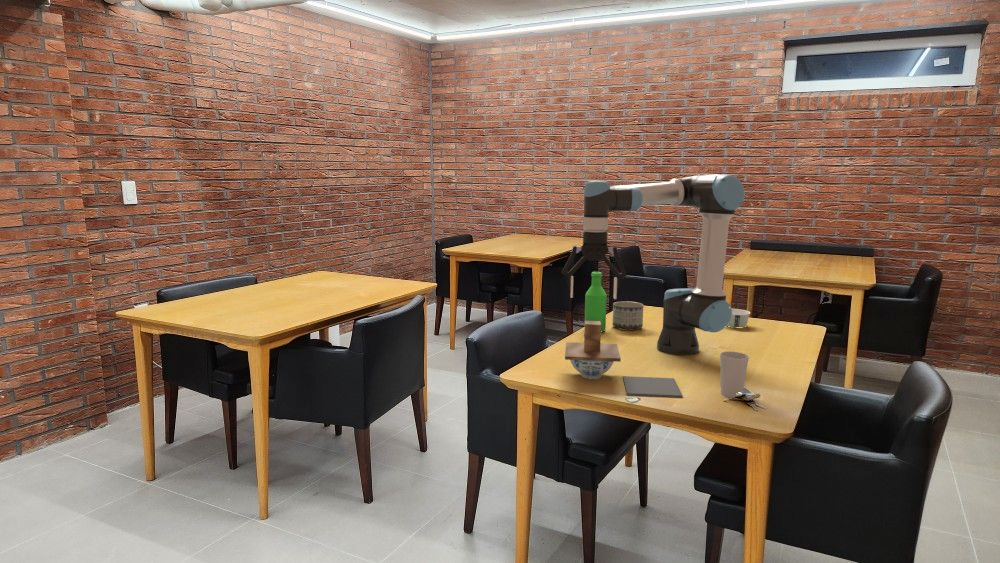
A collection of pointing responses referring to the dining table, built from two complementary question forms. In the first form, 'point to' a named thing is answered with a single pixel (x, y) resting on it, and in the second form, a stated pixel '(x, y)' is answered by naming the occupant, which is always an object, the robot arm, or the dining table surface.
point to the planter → (627, 315)
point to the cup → (733, 372)
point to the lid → (592, 346)
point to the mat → (651, 386)
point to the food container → (739, 318)
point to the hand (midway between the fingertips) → (593, 297)
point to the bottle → (596, 301)
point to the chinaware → (591, 368)
